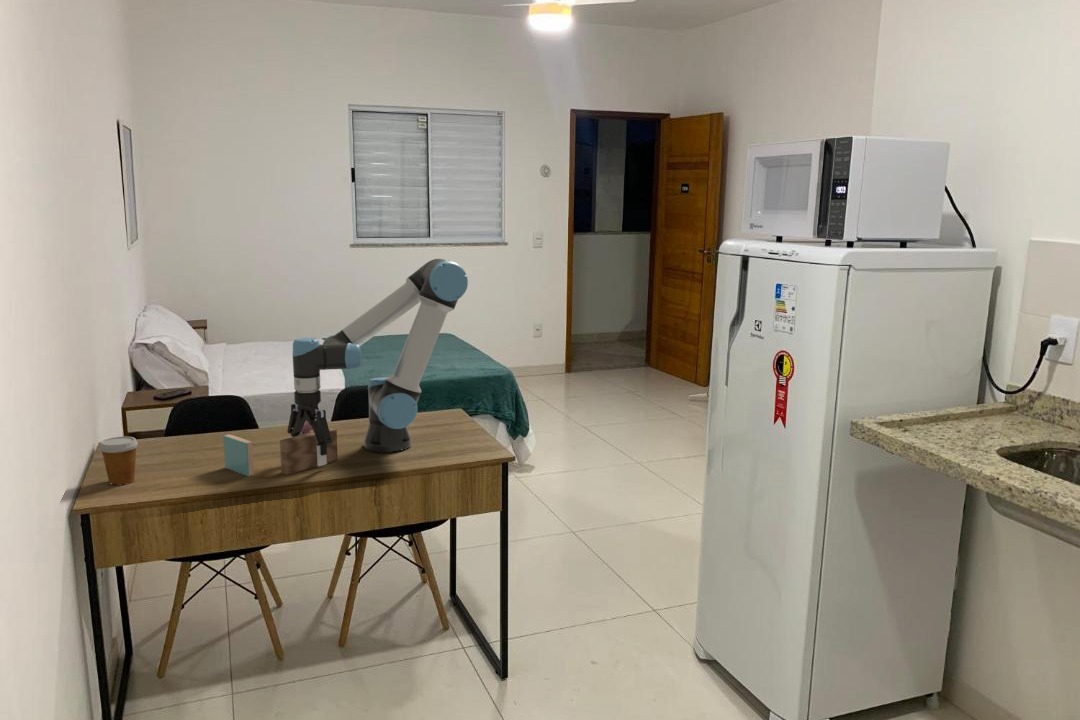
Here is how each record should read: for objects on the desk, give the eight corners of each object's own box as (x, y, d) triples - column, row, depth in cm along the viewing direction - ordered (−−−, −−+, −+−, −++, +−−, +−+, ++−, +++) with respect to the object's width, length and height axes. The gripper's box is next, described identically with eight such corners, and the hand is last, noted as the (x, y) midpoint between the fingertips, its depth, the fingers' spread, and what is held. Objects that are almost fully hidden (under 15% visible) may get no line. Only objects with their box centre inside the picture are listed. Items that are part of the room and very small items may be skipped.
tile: (231, 466, 239) (229, 434, 237) (254, 474, 231) (252, 441, 229) (225, 467, 237) (223, 435, 235) (247, 476, 230) (246, 443, 228)
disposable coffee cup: (132, 487, 219) (128, 445, 217) (96, 487, 219) (92, 445, 216) (146, 476, 229) (143, 435, 226) (112, 476, 228) (108, 436, 226)
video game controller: (328, 441, 271) (328, 421, 273) (326, 439, 266) (326, 418, 268) (298, 442, 269) (298, 422, 271) (296, 440, 265) (296, 419, 266)
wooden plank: (331, 458, 248) (330, 427, 246) (337, 460, 246) (336, 429, 244) (281, 472, 234) (279, 440, 232) (287, 475, 232) (286, 442, 230)
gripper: (273, 386, 239) (276, 456, 244) (321, 398, 225) (323, 472, 229) (294, 382, 245) (297, 450, 249) (342, 394, 231) (344, 466, 235)
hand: (310, 461), depth 239 cm, fingers open, 11 cm apart
